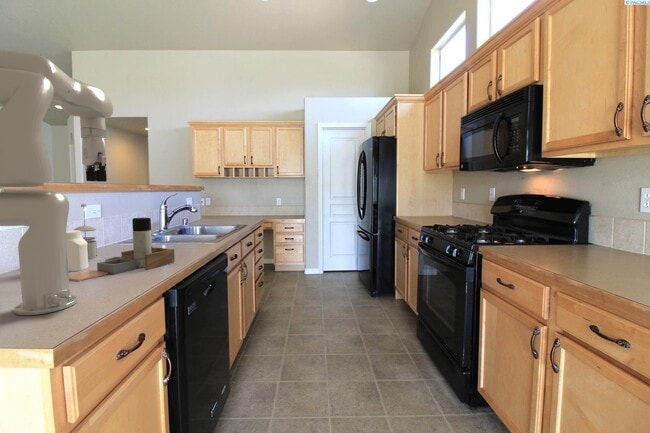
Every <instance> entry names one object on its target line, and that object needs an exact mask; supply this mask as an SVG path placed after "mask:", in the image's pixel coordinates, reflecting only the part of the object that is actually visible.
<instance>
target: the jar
mask: <svg viewBox="0 0 650 433" xmlns="http://www.w3.org/2000/svg"><path fill="white" fill-rule="evenodd" d="M81 233H82V232H81V231H80V230H74V229H72V230H66V238H67V256H68V273H69V272H82V271H86V270H88V269H89V265H90V264H89V262H88V253H87V242H86V241H87V240H86V241H85V240H84V239H83V236H82V234H83V233H82V234H81Z"/></svg>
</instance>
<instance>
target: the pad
mask: <svg viewBox="0 0 650 433" xmlns="http://www.w3.org/2000/svg"><path fill="white" fill-rule="evenodd" d="M105 275H109V274H108V272H101V271H97V270H96V269H95V270H94V269H86V270H81V271H77V272H74V273H69V281H74V282H81V281H85V280H90V279H94V278H98V277H101V276H105Z"/></svg>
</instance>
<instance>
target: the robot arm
mask: <svg viewBox="0 0 650 433" xmlns="http://www.w3.org/2000/svg"><path fill="white" fill-rule="evenodd" d="M52 102H55V103H58V104H59V105H60V107H61V109H62V110H63V111H64V112H65V113H66V114H68V115H70V116H73V117H78V118H79V127H80V137H81V139H82V146H81V148H82V149H81V150H82V151H81V159H82V160H81V162H82V165H83V166H85V176H86V177H85V178H86V182H103V183H104V182H107V180H108V179H107V167H106V166H107V150H106V144H105V143H106V142H105V141H106V140H107V125H106V119H108V118H111V116H112V115H113V114H114V113H113V112H114V105H113V103H112V101H111V99H110V97H109V96H108V95H107V94H106V93H105V92H104V91H103V90H101V89H99V88H98V87H97V86H94V85H90V84H88V83H86V82H83V81H80V80H78V79H76V78H73V77H70V76H69V75H68V74H67V73H65V72H64V71H63V70H62V69H61V68H60V67H58V66H57V65H56V64H55V63H54V62H52V60H50V59H49V58H47V57H45V56H43V55H41V54H40V55H39V54H38V53H37V54H36V53H33V52H24V51H14V50H5V49H0V107H1V109H0V227H21V226H22V227H28V229H26V231H25V233H24V234H23V235H22V236H21V237H20V239H19V240H18V246H17V249H18V251H17V252H18V262H19V263H18V264H19V277H20V289H21V303H19V304H17V305H16V306H15V307H14V308H13V310H14V314H16V315H19V316H36V315H43V314H49V313H53V312H58V311H62V310H64V309H67V308H70V307H72V306H74V305H75V304H76V303H77V302H78V297H77V296H76V295H74V294H71V291H70V290H71V289H70V280H69V274H70V273H69V272H68V256H67V238H66V231H67V227H68V226H67V225H68V218H69V211H70V201H69V199H68V197H67V196H66V195H65V193H64V194H63V193H62V192H60V191H57V190H53V189H47V188H46V189H45V188H34V187H43V186H45V185H48V184H49V183H50V182H51V181H52V178H53V171H52V166H51V162H50V160H49V159H50V158H49V155H48V152H47V147H46V144H45V141H44V137H43V131H42V128H43V122H44V121H43V120H44V118H45V116H46V114H47V111H48V110H49V108H50V106H51V104H52ZM7 187H8V188H7Z"/></svg>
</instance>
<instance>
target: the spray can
mask: <svg viewBox="0 0 650 433" xmlns="http://www.w3.org/2000/svg"><path fill="white" fill-rule="evenodd" d="M151 219H152V218H151V217H133V218H132V223H131V224H132V242H133V243H132V244H133V250H134V260H136V268H146V267H145V255H146V254H151V253H152V247H153V239H152V238H153V237H152V220H151Z"/></svg>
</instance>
